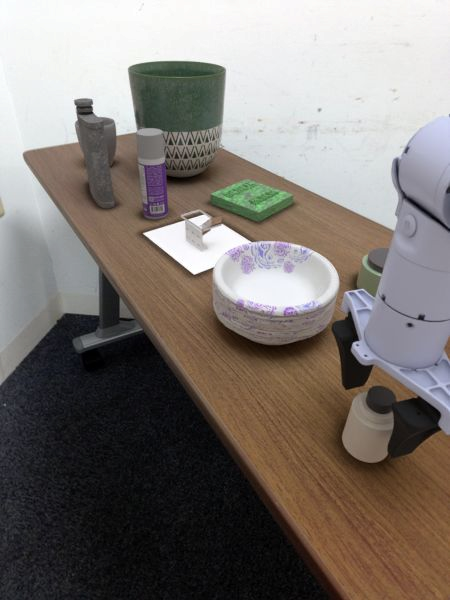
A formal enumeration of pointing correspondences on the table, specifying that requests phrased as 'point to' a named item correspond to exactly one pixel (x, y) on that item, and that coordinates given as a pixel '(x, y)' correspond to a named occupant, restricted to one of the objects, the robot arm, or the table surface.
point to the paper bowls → (274, 291)
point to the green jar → (372, 270)
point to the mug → (109, 136)
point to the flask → (95, 153)
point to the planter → (181, 110)
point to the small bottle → (370, 424)
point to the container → (152, 172)
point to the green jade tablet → (251, 199)
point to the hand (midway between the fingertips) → (374, 416)
